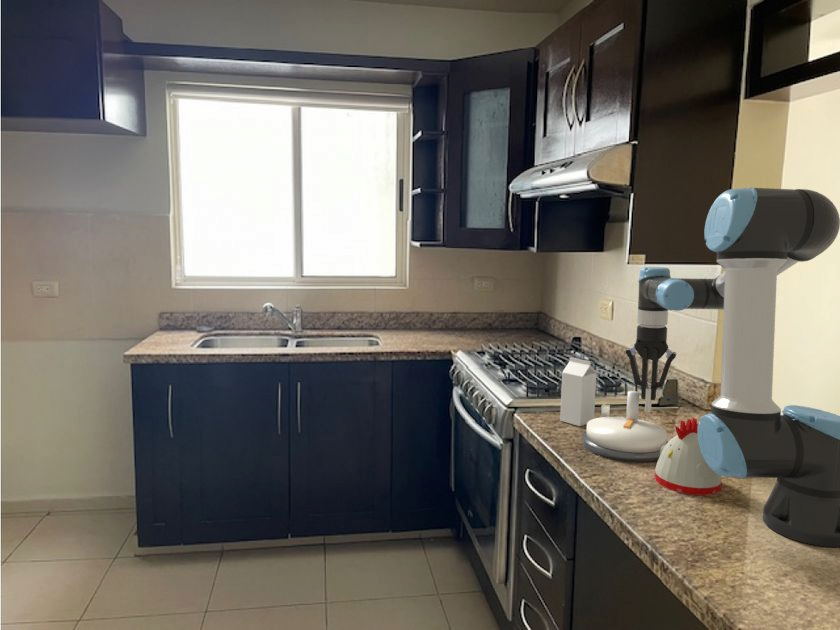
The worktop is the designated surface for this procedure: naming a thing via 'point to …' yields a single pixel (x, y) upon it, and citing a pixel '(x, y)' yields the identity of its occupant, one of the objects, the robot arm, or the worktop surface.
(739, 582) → the worktop surface
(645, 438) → the dial
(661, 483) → the kitchen timer
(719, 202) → the robot arm
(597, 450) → the dial base
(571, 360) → the milk carton
